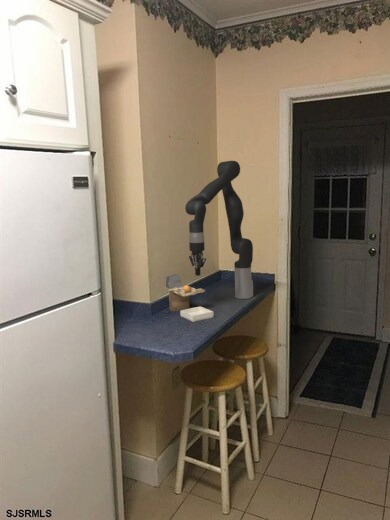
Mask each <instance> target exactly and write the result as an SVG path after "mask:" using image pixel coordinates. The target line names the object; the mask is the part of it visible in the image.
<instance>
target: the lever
mask: <svg viewBox="0 0 390 520" xmlns="http://www.w3.org/2000/svg"><path fill="white" fill-rule="evenodd" d="M165 278H166V289H165V290H166V291H168V292H169V290H172V291H173V293H176V294H179V295H181V296H189V297H190V296H194V295H197V294H199V293H205V292H206V289H204V288H197V289H196V288H195V287H192V286H189V287H190V291H189V292H185V291H184V290H183V287H184V286H182V276H181V275H179V274H175V273H174V274H169V275H164V279H165Z"/></svg>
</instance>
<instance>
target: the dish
mask: <svg viewBox="0 0 390 520" xmlns="http://www.w3.org/2000/svg"><path fill="white" fill-rule="evenodd" d="M179 312H180V317H182V318H183V319H185V320H187V321H190V322H192V323H194V322H200V321H203V320H209V319H211V318H214V311H213V310H211V309H208V308H206V307H203V306H197V307H190V308H188V309H183V310H179Z"/></svg>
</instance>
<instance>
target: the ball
mask: <svg viewBox="0 0 390 520" xmlns="http://www.w3.org/2000/svg"><path fill="white" fill-rule="evenodd" d="M182 287H183V290H184V291H185V292H189V291H190V287H191V286H189V285H187V284H185V285H184V286H182Z"/></svg>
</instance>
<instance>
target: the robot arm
mask: <svg viewBox="0 0 390 520" xmlns="http://www.w3.org/2000/svg"><path fill="white" fill-rule="evenodd" d="M216 172H217V177H216V178H215V179H213V180H211V181H210V182H209V183H208V184H206V185H205V186H204V187H203V189H202V190H201V191H200V192H199V193H198V194H195V195H194V196H193V197H191V198H190V199H189V200H188V201H187V202H186V205H185V208H184V209H185V213H186V214H188V215H190V216H194V218H193V219H191V220H190V221H189V223H188V229H189V234H188V235H189V236H188V243H189V245H188V246H189V251H190V252H191V255H189V256H188V259H189V261H190V263H191V266H192V267H193V268H194V271H195V272H194V273H195V275H194V276H197V277H198V276H201V273H202V272H201V268H204V265H205V263H206V261H207V258H206V257H204V253H203V252H204V251H205V232H204V221H205V218H206V213H207V207H206V206H207V205H208V204H209V203H211V202H212V201H213V199H215V197H216V196H217V195H218V194H219V193H220V192H221V191H222V196H223V201H224V207H225V212H226V217H227V223H228V228H229V229H228V230H229V241H230V248H231V251H232V253H234V254H236V255H238V260H235V262H234V265H233V266H234V296H235V298H236V299H239V300H246V299H251V298H252V297H254V281H253V279H252V262H253V260H254V258H253V256H254V255H253V254H254V247H253V242H252V241H251V240H250V239H249V238H244V237H243V234H242V223H243V219H244V214H245V212H244V207H243V202H242V199H241V197H240V196H239V195H238V194H237V192H236V190H235V189H234V187H233V184H232V181H234V180H235V179H237V178H238V176H239V175H240V174H241V166H240V163H239V162H238V161H235V160H227V161H226V160H225V161H220V162H219V163H218V165H217V168H216Z"/></svg>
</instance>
